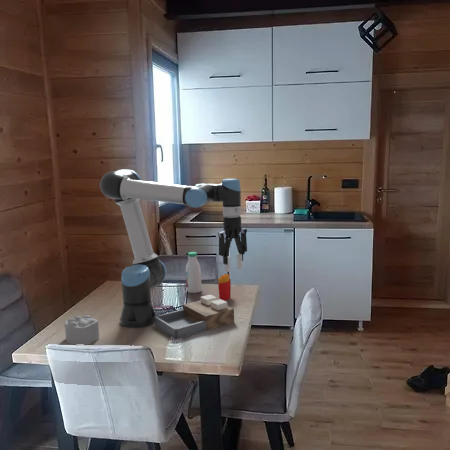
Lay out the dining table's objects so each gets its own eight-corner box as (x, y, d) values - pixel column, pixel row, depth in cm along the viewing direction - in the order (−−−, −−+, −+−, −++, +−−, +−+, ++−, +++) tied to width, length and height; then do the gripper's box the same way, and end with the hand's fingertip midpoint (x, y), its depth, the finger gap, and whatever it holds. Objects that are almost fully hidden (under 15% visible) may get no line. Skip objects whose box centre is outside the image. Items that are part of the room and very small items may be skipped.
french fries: (226, 295, 242) (225, 272, 239) (232, 297, 239) (232, 273, 237) (216, 301, 234) (215, 276, 232) (223, 302, 232) (222, 277, 230)
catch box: (175, 339, 192) (175, 329, 191) (154, 325, 206) (153, 316, 205) (206, 330, 199) (205, 321, 199) (183, 317, 214) (183, 309, 213)
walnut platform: (206, 330, 199) (205, 316, 198) (183, 317, 214) (182, 304, 213) (234, 322, 207) (233, 308, 206) (210, 310, 222) (210, 297, 221)
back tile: (207, 305, 211) (206, 299, 211) (200, 302, 215) (200, 296, 215) (216, 302, 214) (216, 297, 213) (210, 299, 218) (210, 294, 217)
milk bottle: (204, 289, 252) (202, 251, 249) (197, 294, 245) (195, 255, 242) (191, 288, 255) (189, 250, 252) (183, 292, 249) (181, 253, 245)
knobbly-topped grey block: (83, 347, 187) (81, 325, 186) (59, 341, 194) (57, 320, 192) (102, 337, 196) (101, 316, 195) (79, 331, 202) (77, 311, 201)
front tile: (217, 310, 205) (217, 304, 204) (210, 307, 209) (210, 301, 208) (227, 307, 207) (227, 302, 207) (220, 304, 211) (220, 299, 211)
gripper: (218, 219, 197) (220, 276, 202) (255, 214, 208) (256, 268, 212) (208, 217, 203) (210, 272, 208) (244, 212, 214) (245, 264, 218)
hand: (233, 269), depth 210 cm, fingers open, 6 cm apart
